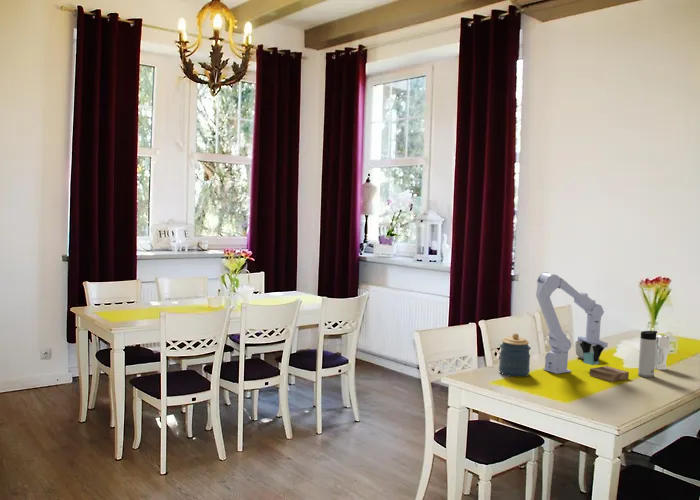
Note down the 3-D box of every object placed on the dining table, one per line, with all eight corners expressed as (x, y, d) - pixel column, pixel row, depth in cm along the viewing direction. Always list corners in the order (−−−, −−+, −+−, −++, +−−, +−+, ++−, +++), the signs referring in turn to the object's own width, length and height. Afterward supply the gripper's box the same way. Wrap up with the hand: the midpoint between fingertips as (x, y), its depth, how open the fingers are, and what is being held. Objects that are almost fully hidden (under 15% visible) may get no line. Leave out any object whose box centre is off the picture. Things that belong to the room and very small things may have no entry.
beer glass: (664, 366, 295) (666, 335, 294) (670, 370, 289) (672, 338, 287) (648, 366, 296) (650, 334, 295) (654, 370, 289) (656, 337, 288)
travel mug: (656, 378, 274) (659, 332, 273) (639, 377, 276) (642, 331, 274) (652, 374, 281) (655, 330, 279) (636, 373, 282) (639, 329, 280)
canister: (492, 372, 277) (494, 332, 275) (508, 368, 286) (510, 329, 284) (519, 379, 267) (521, 337, 266) (535, 374, 277) (537, 334, 275)
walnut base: (611, 381, 267) (611, 374, 267) (589, 375, 277) (590, 368, 277) (628, 378, 273) (628, 372, 273) (606, 372, 282) (606, 365, 282)
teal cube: (591, 365, 282) (592, 355, 282) (583, 362, 286) (584, 352, 285) (598, 364, 284) (599, 354, 284) (590, 361, 288) (590, 351, 288)
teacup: (601, 361, 303) (602, 345, 302) (578, 360, 303) (579, 344, 302) (591, 354, 317) (592, 338, 316) (569, 354, 317) (570, 338, 316)
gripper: (613, 332, 280) (611, 363, 281) (585, 326, 292) (584, 355, 293) (602, 333, 276) (600, 364, 277) (575, 327, 289) (573, 357, 290)
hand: (591, 360), depth 285 cm, fingers closed on teal cube, 4 cm apart
